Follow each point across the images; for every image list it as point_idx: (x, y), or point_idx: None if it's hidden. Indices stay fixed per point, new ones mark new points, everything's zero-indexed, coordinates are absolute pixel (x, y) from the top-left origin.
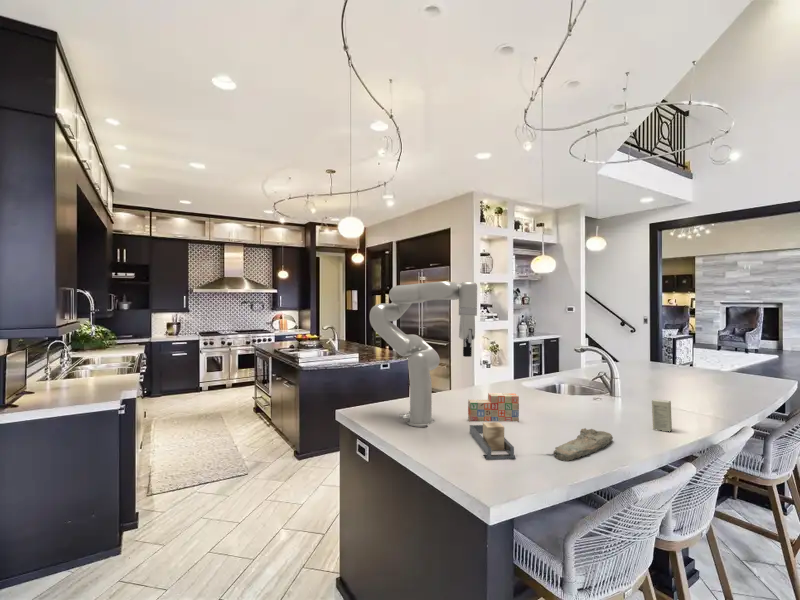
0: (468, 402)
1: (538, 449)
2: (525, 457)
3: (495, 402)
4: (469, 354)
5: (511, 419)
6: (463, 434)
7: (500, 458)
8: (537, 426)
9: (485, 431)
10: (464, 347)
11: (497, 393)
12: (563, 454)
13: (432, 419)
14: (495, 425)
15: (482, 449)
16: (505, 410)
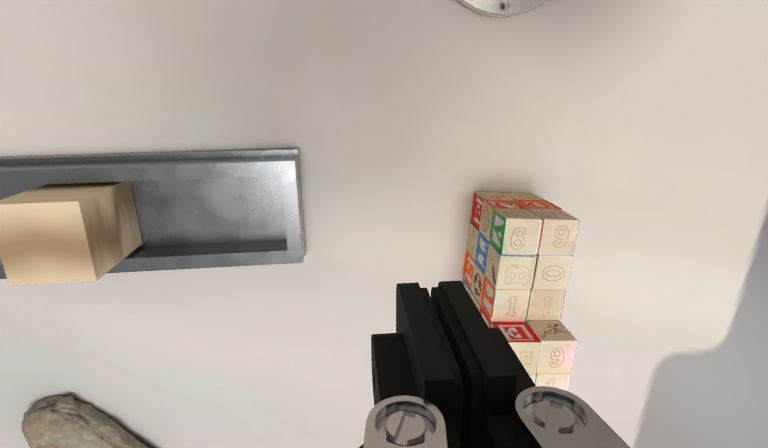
0: (564, 215)
1: (140, 366)
2: (45, 303)
3: None
4: (372, 379)
5: None
6: (311, 128)
7: None
8: None
9: (45, 196)
10: (421, 384)
11: (559, 384)
12: (22, 423)
13: (519, 2)
14: (31, 251)
15: (64, 163)
16: None
